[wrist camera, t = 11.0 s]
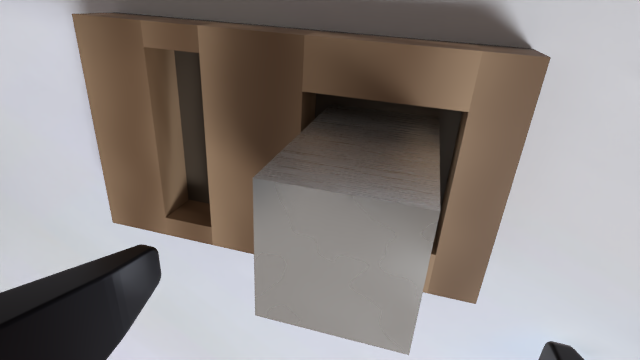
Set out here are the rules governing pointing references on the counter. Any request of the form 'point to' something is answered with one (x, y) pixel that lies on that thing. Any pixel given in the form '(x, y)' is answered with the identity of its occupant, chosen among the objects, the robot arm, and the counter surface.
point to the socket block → (295, 121)
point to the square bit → (349, 225)
